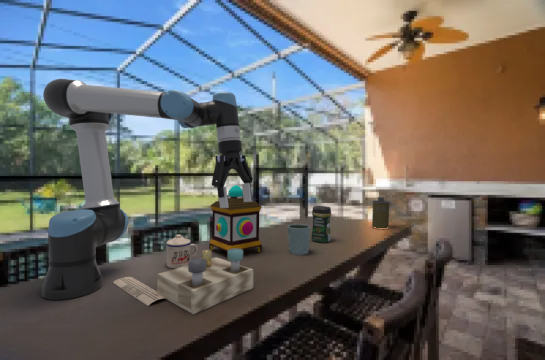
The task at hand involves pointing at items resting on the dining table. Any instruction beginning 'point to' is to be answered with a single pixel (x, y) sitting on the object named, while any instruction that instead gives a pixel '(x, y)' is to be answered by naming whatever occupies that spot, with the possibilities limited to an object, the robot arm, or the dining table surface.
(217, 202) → the decorative lantern
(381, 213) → the canister
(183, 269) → the mount
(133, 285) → the newspaper
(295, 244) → the blue cup
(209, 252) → the brass post
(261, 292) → the dining table surface
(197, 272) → the grey knob
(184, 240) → the teacup with lid
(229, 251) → the teal knob
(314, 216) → the coffee jar
